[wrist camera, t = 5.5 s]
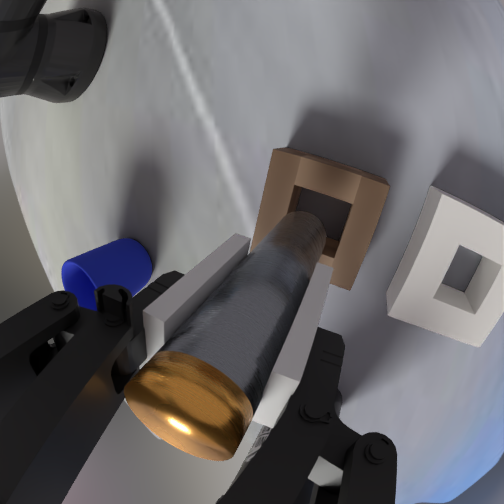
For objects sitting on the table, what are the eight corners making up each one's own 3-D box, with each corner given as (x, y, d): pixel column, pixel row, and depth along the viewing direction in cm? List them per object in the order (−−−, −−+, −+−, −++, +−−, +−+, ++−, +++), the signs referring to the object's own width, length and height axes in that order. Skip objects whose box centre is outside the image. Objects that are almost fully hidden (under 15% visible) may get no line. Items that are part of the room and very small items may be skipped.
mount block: (264, 238, 28) (249, 253, 25) (286, 147, 24) (273, 149, 20) (352, 269, 26) (350, 290, 22) (385, 179, 22) (390, 186, 18)
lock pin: (271, 249, 19) (131, 420, 7) (283, 204, 18) (115, 359, 6) (317, 265, 18) (226, 471, 6) (332, 220, 17) (245, 429, 5)
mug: (98, 260, 40) (49, 288, 31) (134, 218, 34) (72, 247, 25) (128, 303, 41) (83, 339, 32) (170, 272, 34) (115, 314, 26)
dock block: (386, 292, 25) (387, 315, 22) (430, 185, 20) (442, 193, 17) (470, 324, 23) (479, 347, 19) (518, 231, 18) (537, 246, 14)
